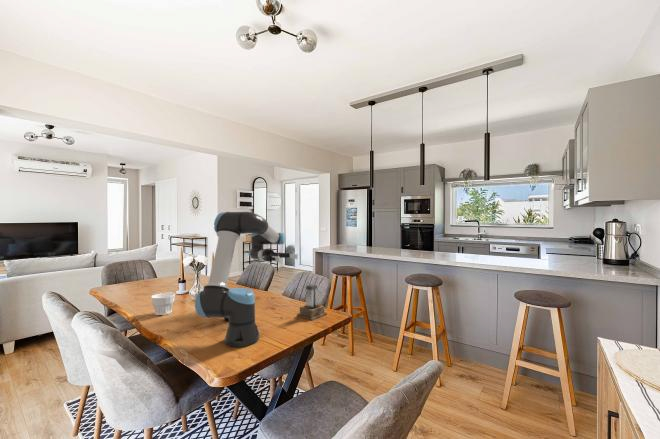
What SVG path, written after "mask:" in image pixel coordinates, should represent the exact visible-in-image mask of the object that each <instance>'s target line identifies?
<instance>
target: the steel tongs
mask: <svg viewBox="0 0 660 439" xmlns="http://www.w3.org/2000/svg"><path fill="white" fill-rule="evenodd" d="M305 286H306V288H305V292H306V295H305V297H306V298H305V299H306V305H307V308H308V309H315V308H317V304H318V285H316V284H314V283H311V284H307V285H305Z"/></svg>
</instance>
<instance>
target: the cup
mask: <svg viewBox="0 0 660 439" xmlns="http://www.w3.org/2000/svg"><path fill="white" fill-rule="evenodd" d="M175 297H176V293H175V292H171V291H170V292H168V291H167V292H161V293H156V294H152V295H151V297H150V298H151V303H152V306H153V309H154V313H155V315H156V314H157V315H164V314H169V313H171V312H172V311H173V304H174V302H175ZM172 313H173V312H172ZM172 313H171V314H172ZM169 315H170V314H169Z"/></svg>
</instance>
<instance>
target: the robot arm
mask: <svg viewBox="0 0 660 439" xmlns="http://www.w3.org/2000/svg"><path fill="white" fill-rule="evenodd" d="M213 226H214V227H213V229H214V231H215V233H216V236H217V237H218V241H217V243H216V244H217V245H216V249H215V252H214V253H215V254H214V257H213V261H212V266H211V269H210V274H209V279H208V283H206V284H205V285H204V286H203V289H202V290H200V291H198V292H197V294H196V296H195V300H194V308H195V312H196V314H197V315H198V316H200V317H203V318H208V319H211V318H220V319H221V318H222V319H224V318H229V322H228V326H227V330H226V334H225V337H224V341H225V342H224V343H225V345H226V346H228V347H232V348H243V347H249V346H251V345H254V344H256V343H257V342H259V340H260V332H259V329H258V327H257V323H256V300H255V292H254V291H253V290H252V289H250V288H247V287H246V288H245V287H233V288H229V287H228V282H229V276H230V273H231V272H230V271H231V267H232V263H233V257H234V253H235V249H236V248H235V247H236V243H237V241H238V240H240V237H241V234H242V235H243V234H244V235H245V234H251V237H250V238H251V248H250V249H249V251H248V256H249V258H250V259H252V260H256V261H263V262H269V263H272V262H277V263H279V262H281V259H285V258H289V259H294V260H298V258H299V257H298V254H297V253H293V252H291V251H290V252H275V251H274V250H273V249H268V248H264V245H278V246H279V245H284V244H285V242H286V235H285V233H284V232H277V230H275V229H274V228H273V227H272V226H271V225H269V223H268V220H266V219H265V218H264V217H263V216H261V215H260V214H257V213H254V212H250V211H224V212H220V213H218V214H217V215H216V217H215V219H214V222H213Z"/></svg>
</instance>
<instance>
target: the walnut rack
mask: <svg viewBox="0 0 660 439" xmlns="http://www.w3.org/2000/svg"><path fill="white" fill-rule="evenodd" d="M327 315H328V312H325V305H323V304H318V303H317V308H315V309H308V308H307V304H303V305H301V306H299V313H297V314H296V316H297V317H300V318H302V319H306V320H310V321H315V320H318V319H321V318H322V317H325V316H327Z"/></svg>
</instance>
